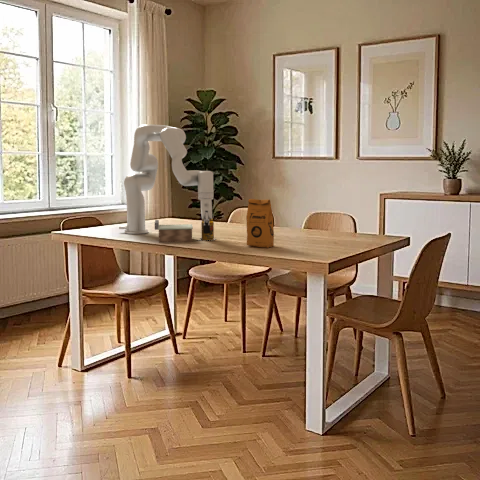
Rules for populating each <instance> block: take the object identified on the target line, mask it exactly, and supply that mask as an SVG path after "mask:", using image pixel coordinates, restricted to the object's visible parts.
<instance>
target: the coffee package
mask: <svg viewBox="0 0 480 480" xmlns="http://www.w3.org/2000/svg"><path fill="white" fill-rule="evenodd" d="M272 209H273V208H272V204H271V199H270V198H269V199H257V198H249V199H248V206H247V210H246V211H247V212H246V218H245V219H246V246H250V247H254V248H266V249H270V248H272V247H274V246H275V244H274V243H275V238H274V237H275V234H274V233H275V231H274V217H273V210H272ZM269 247H270V248H269Z"/></svg>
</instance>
